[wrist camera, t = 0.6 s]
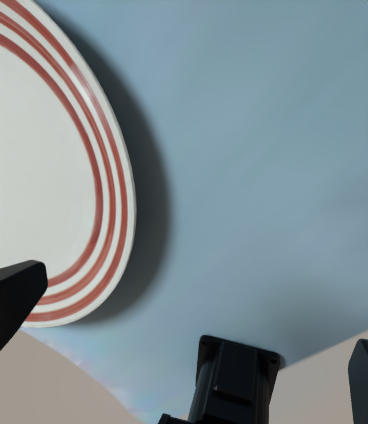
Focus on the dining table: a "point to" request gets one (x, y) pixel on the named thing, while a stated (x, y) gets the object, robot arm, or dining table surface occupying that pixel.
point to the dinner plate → (60, 168)
